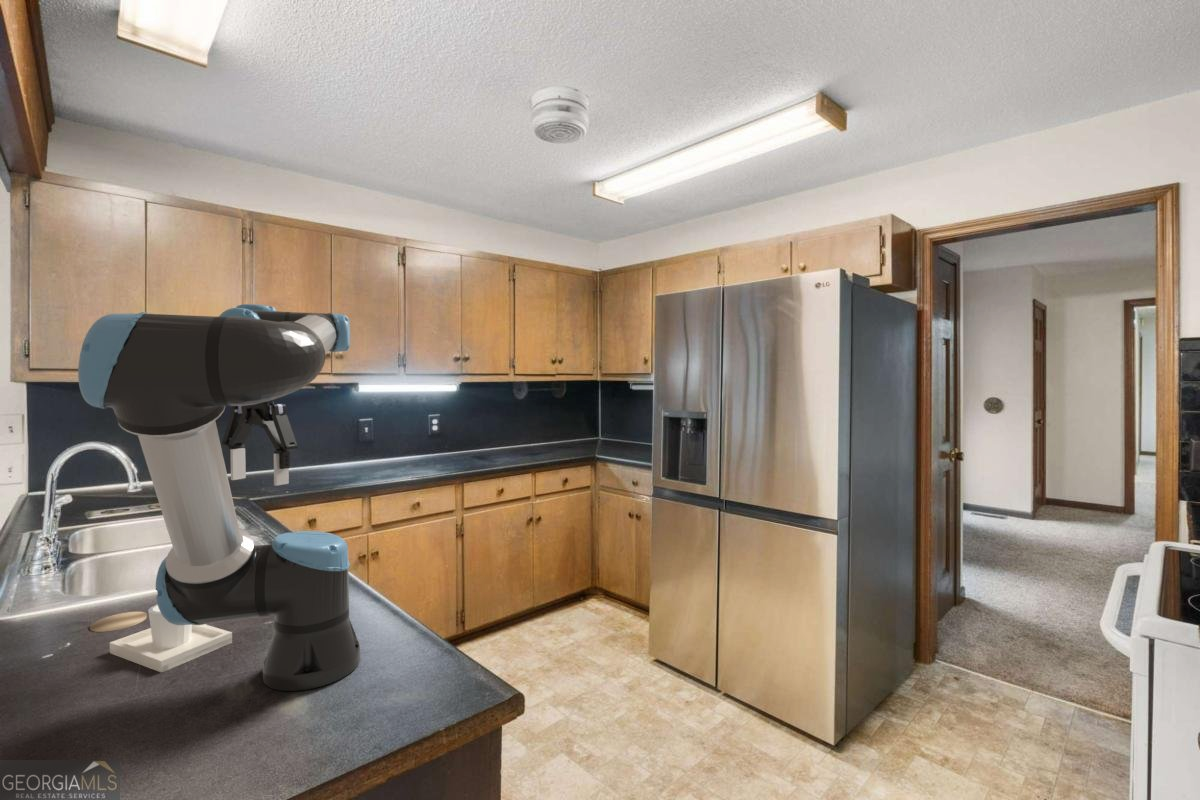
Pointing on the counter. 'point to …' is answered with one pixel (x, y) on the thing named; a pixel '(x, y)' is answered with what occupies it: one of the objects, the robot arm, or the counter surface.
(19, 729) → the counter surface
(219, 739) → the counter surface
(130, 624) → the cork coaster
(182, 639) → the white cup
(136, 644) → the tray
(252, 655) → the counter surface
